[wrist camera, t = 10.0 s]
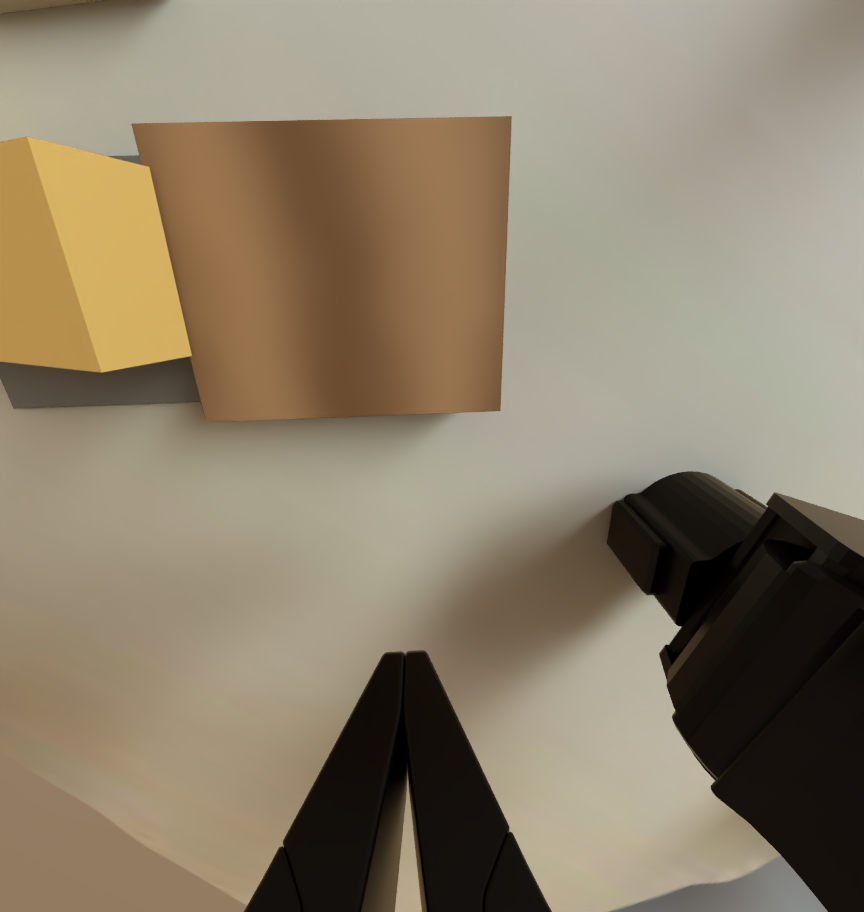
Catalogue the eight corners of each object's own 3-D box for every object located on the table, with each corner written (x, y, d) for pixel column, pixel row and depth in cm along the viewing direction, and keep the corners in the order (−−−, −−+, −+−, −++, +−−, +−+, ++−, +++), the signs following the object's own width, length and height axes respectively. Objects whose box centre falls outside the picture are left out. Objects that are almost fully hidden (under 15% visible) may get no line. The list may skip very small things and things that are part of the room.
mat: (172, 158, 15) (166, 154, 15) (226, 398, 19) (222, 400, 18) (-82, 163, 15) (-94, 160, 14) (21, 405, 18) (13, 408, 18)
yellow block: (149, 167, 12) (27, 136, 10) (192, 356, 14) (101, 372, 12) (-7, 188, 15) (-136, 168, 12) (48, 344, 17) (-51, 355, 14)
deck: (491, 151, 15) (511, 116, 12) (485, 389, 19) (500, 410, 16) (191, 157, 15) (131, 123, 12) (242, 397, 19) (206, 421, 15)
